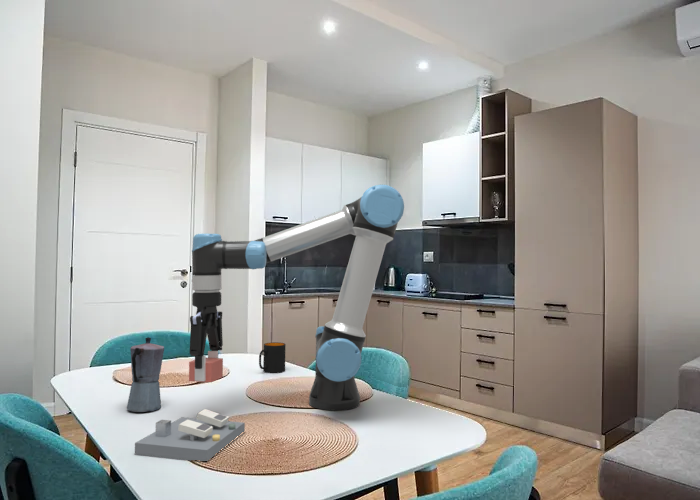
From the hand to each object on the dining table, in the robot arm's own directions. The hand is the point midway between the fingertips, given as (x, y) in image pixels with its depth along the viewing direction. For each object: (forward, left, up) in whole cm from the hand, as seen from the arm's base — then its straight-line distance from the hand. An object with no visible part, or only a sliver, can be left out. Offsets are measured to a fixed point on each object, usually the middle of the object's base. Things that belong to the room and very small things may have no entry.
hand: (206, 377), depth 137 cm
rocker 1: (-9, +21, -6) cm, 24 cm away
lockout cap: (0, 0, 0) cm, 0 cm away
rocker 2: (-9, +13, -6) cm, 17 cm away
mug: (+4, -59, -11) cm, 60 cm away
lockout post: (-1, +21, -8) cm, 23 cm away
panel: (-6, +18, -11) cm, 22 cm away
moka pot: (+20, -3, -11) cm, 23 cm away
